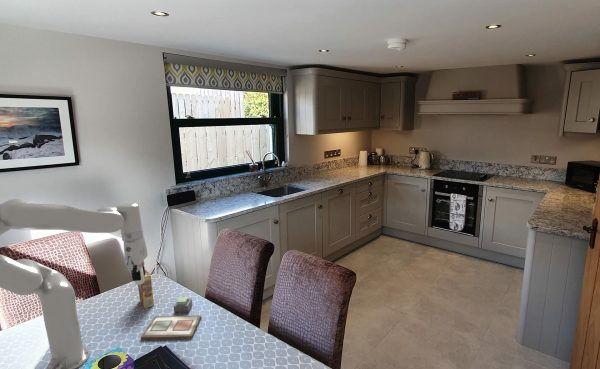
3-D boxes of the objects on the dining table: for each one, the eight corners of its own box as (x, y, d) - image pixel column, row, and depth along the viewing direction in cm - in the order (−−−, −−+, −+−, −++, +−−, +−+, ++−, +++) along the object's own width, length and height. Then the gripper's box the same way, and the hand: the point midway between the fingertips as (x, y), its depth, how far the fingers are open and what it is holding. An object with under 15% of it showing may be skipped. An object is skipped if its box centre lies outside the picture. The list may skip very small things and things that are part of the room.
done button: (186, 306, 155) (185, 301, 154) (177, 306, 155) (176, 301, 154) (188, 301, 159) (188, 296, 158) (180, 301, 159) (179, 297, 158)
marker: (142, 284, 139) (139, 263, 137) (133, 284, 139) (130, 264, 137) (146, 280, 142) (142, 259, 140) (137, 280, 142) (134, 260, 140)
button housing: (188, 313, 154) (187, 305, 154) (174, 313, 154) (173, 306, 154) (192, 305, 160) (191, 298, 160) (178, 305, 160) (178, 298, 160)
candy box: (154, 305, 161) (151, 275, 158) (145, 308, 158) (141, 278, 155) (149, 297, 168) (145, 268, 165) (139, 300, 165) (135, 271, 162)
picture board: (191, 338, 137) (191, 335, 136) (140, 340, 137) (140, 336, 136) (201, 317, 150) (201, 314, 150) (155, 318, 150) (154, 316, 150)
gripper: (133, 242, 128) (140, 287, 132) (150, 227, 144) (156, 267, 148) (112, 243, 128) (120, 289, 132) (131, 228, 144) (138, 268, 148)
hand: (139, 277), depth 140 cm, fingers closed on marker, 3 cm apart
